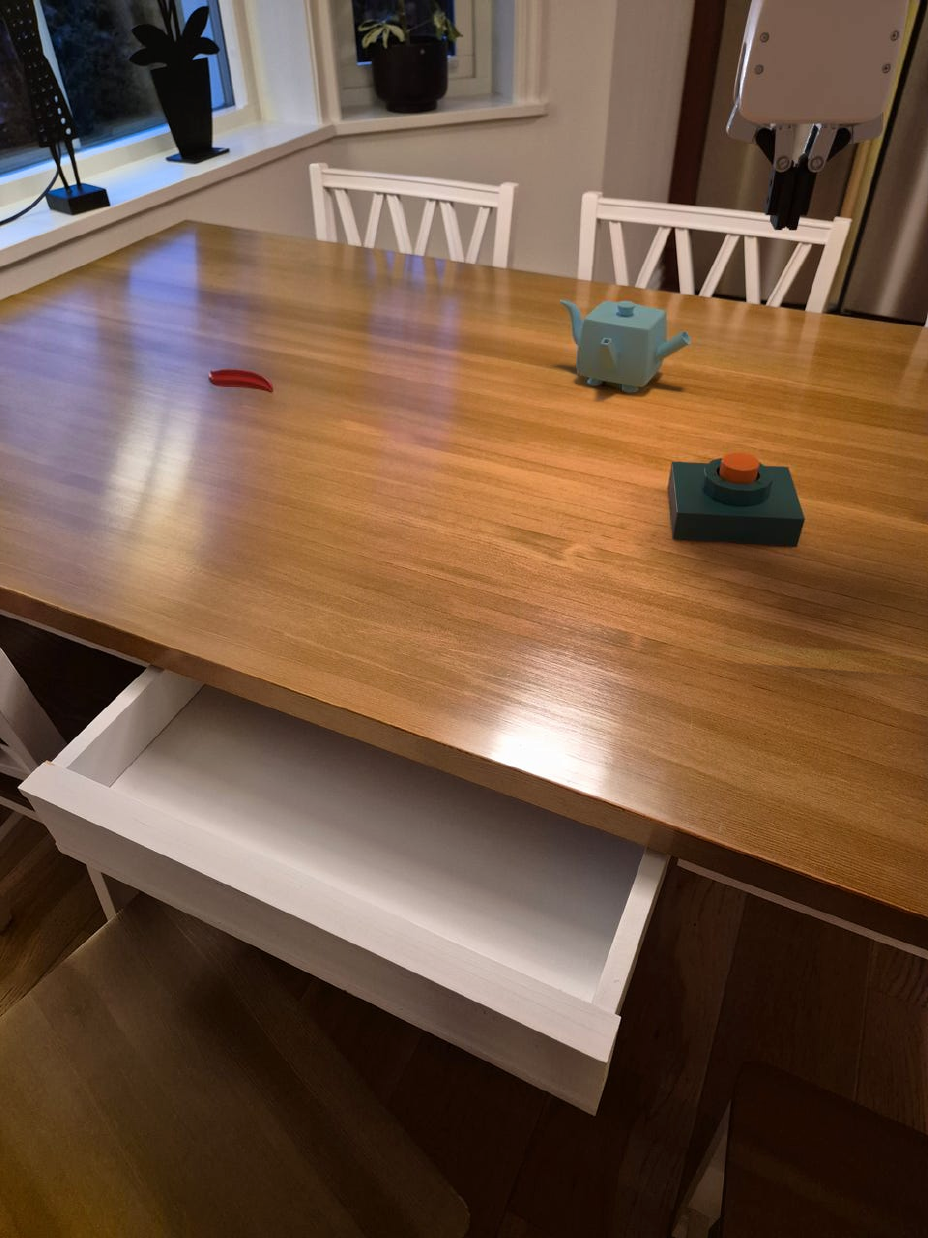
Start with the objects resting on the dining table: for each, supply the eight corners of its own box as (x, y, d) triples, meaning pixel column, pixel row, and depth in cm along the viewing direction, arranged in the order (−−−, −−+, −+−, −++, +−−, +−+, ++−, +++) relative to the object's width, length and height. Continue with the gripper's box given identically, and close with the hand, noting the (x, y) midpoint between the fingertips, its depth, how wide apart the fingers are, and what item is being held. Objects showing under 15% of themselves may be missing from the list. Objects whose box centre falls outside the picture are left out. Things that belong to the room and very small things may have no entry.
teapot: (696, 372, 113) (709, 297, 106) (664, 415, 103) (675, 335, 97) (573, 350, 120) (578, 278, 113) (532, 388, 110) (535, 312, 104)
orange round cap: (753, 468, 84) (757, 453, 83) (758, 486, 81) (762, 471, 80) (717, 466, 85) (720, 451, 83) (720, 485, 82) (723, 469, 81)
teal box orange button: (781, 492, 89) (792, 451, 86) (797, 546, 81) (809, 502, 78) (667, 487, 90) (673, 445, 87) (672, 539, 83) (679, 496, 80)
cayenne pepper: (198, 377, 115) (195, 364, 114) (225, 366, 118) (222, 353, 117) (253, 400, 109) (250, 386, 108) (280, 388, 112) (278, 374, 111)
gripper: (954, -89, 55) (872, 213, 66) (720, -82, 56) (681, 211, 68) (993, -89, 49) (896, 241, 61) (732, -81, 51) (687, 238, 63)
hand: (782, 224), depth 64 cm, fingers closed
